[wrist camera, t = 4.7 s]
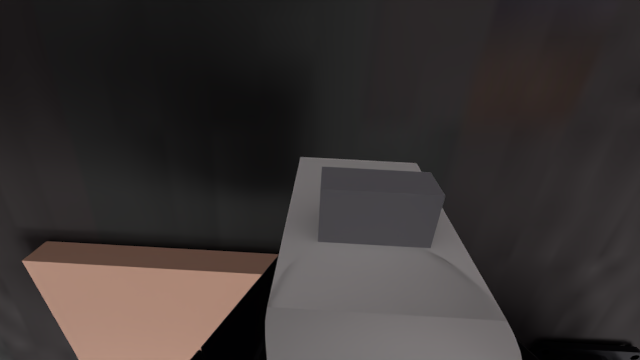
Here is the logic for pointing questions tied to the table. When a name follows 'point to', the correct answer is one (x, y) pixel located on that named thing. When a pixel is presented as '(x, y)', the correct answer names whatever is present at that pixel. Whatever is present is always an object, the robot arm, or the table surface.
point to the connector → (377, 272)
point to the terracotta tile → (140, 296)
